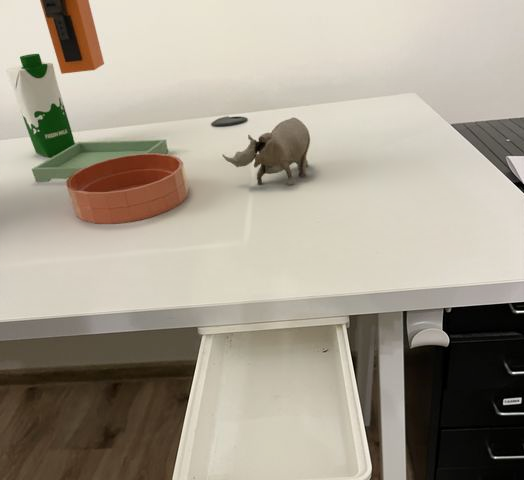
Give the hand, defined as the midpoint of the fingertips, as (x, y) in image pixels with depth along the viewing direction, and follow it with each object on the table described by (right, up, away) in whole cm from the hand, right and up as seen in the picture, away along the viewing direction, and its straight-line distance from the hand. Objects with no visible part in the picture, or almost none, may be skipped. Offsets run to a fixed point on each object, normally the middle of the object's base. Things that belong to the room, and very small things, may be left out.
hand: (80, 57), depth 96 cm
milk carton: (-16, -5, +32) cm, 36 cm away
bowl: (+10, -26, -2) cm, 28 cm away
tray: (-1, -13, +18) cm, 22 cm away
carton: (0, -1, +1) cm, 2 cm away
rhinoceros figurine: (+35, -21, 0) cm, 41 cm away
